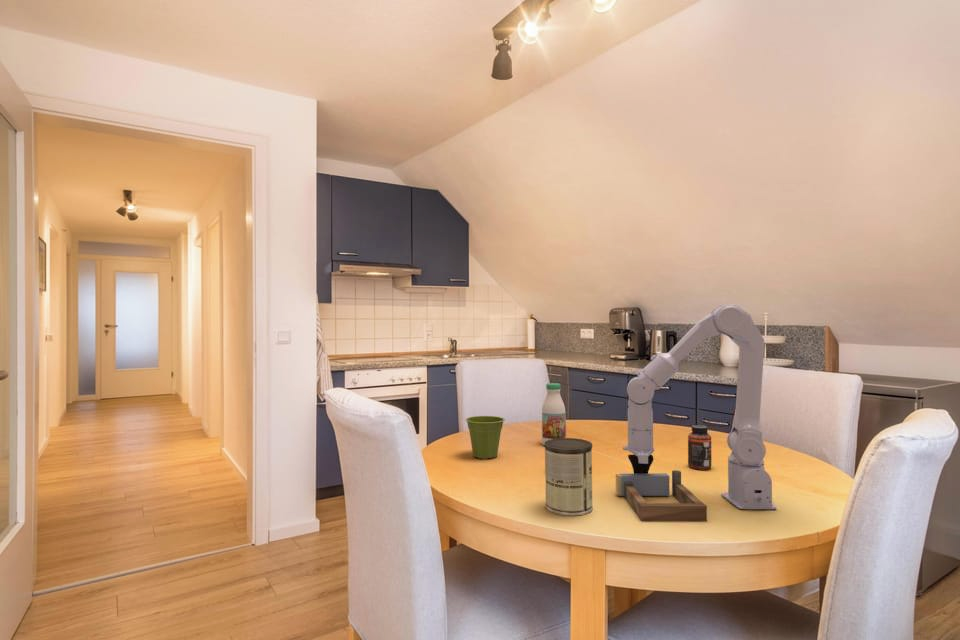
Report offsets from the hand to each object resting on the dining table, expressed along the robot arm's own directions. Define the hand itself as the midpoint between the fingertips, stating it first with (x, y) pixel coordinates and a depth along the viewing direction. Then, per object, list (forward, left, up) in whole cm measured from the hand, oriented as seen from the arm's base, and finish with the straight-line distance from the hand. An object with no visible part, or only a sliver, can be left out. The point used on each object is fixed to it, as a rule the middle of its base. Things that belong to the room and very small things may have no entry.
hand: (640, 486), depth 125 cm
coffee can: (-10, +18, -2) cm, 21 cm away
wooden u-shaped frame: (-9, -2, -2) cm, 9 cm away
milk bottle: (+47, +15, -2) cm, 50 cm away
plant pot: (+33, +37, -2) cm, 50 cm away
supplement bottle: (+21, -22, -2) cm, 30 cm away
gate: (-2, 0, -1) cm, 2 cm away
